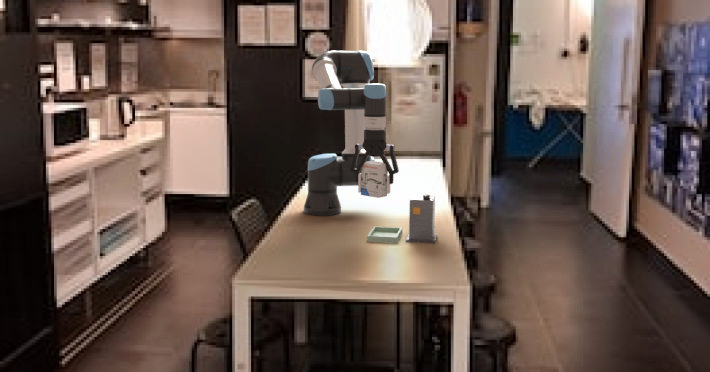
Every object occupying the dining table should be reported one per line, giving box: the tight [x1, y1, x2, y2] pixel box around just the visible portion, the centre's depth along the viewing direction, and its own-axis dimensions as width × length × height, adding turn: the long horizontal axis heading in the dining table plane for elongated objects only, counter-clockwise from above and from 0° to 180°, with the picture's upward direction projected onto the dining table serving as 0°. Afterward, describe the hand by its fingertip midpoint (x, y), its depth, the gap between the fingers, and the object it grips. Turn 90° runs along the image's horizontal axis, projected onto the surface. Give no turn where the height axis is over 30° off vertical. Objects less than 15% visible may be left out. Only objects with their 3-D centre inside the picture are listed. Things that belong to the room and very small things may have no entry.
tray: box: [366, 225, 403, 244], centre depth 278 cm, size 10×14×2 cm
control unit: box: [405, 194, 438, 244], centre depth 274 cm, size 10×10×16 cm
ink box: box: [360, 161, 389, 199], centre depth 274 cm, size 9×5×12 cm, turn 50°
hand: (374, 192), depth 275 cm, fingers closed on ink box, 9 cm apart
